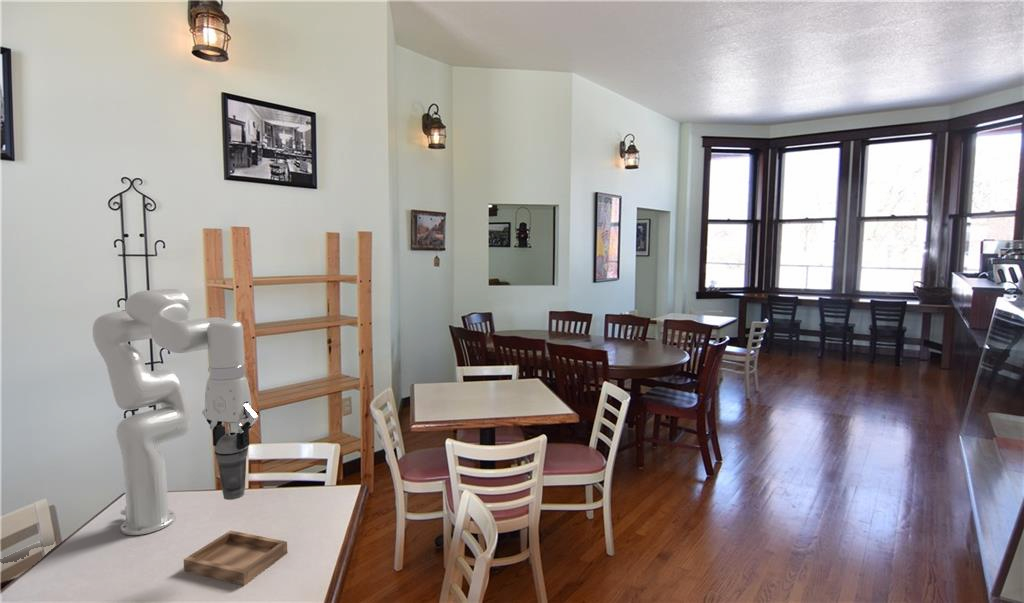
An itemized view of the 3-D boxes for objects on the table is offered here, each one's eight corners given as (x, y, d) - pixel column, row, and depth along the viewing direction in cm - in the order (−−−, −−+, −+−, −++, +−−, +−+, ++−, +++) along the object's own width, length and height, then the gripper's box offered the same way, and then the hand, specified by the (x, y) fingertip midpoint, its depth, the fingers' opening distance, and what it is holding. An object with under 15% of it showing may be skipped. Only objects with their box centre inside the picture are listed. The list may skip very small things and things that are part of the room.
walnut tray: (184, 571, 129) (183, 559, 129) (231, 541, 142) (230, 530, 142) (244, 585, 124) (243, 573, 123) (287, 552, 137) (286, 541, 136)
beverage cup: (236, 503, 127) (232, 421, 125) (209, 500, 128) (205, 419, 126) (257, 490, 134) (253, 411, 132) (231, 487, 136) (227, 410, 134)
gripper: (185, 373, 127) (190, 447, 129) (244, 379, 122) (248, 455, 124) (212, 367, 134) (216, 436, 136) (268, 371, 129) (272, 444, 131)
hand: (231, 445), depth 130 cm, fingers closed on beverage cup, 6 cm apart
